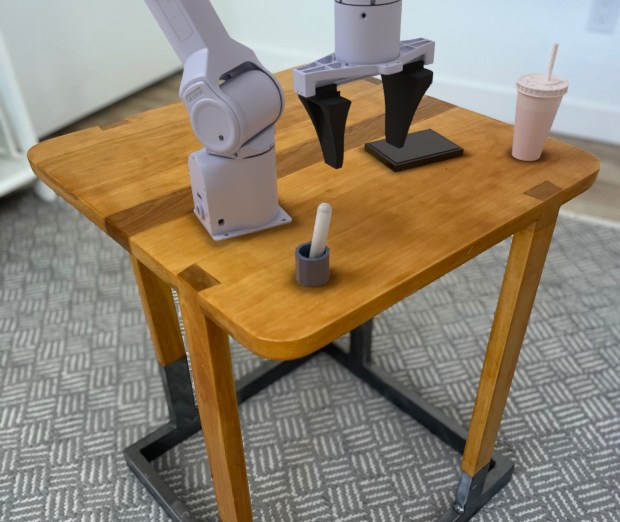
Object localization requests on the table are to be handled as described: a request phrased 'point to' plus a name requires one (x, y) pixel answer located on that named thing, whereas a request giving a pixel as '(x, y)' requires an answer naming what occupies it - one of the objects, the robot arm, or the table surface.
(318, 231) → the stylus
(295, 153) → the table surface
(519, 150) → the smoothie
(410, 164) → the tablet
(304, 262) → the pencil cup
